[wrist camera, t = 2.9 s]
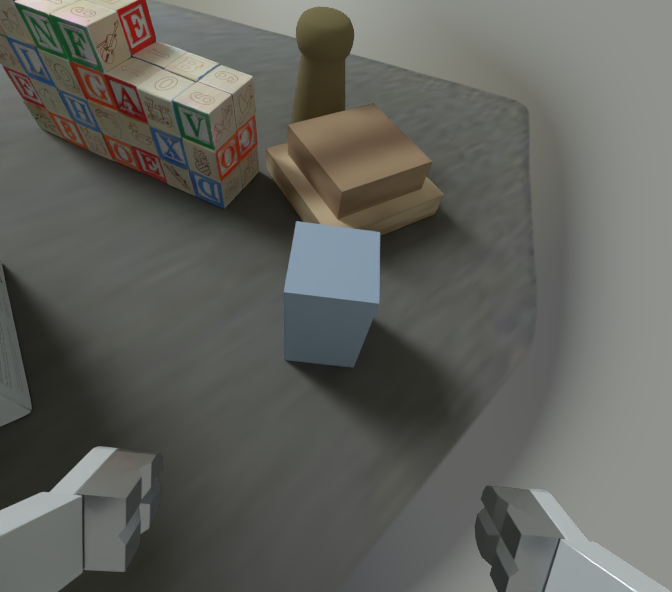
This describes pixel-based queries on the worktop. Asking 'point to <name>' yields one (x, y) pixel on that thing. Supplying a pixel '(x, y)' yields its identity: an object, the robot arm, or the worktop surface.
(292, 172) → the plinth
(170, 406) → the worktop surface
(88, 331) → the worktop surface
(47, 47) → the stack of blocks
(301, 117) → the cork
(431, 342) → the worktop surface
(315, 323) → the pillar
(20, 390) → the supplement box
